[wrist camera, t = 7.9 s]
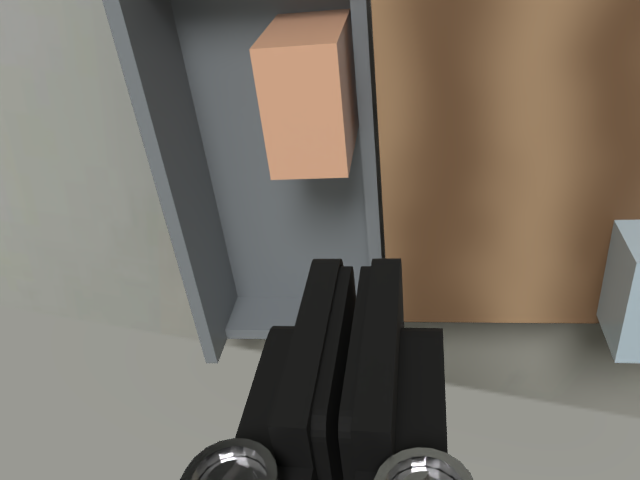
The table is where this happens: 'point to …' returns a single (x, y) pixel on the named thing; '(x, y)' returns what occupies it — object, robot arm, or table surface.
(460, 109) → the board
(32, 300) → the table surface
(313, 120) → the block terracotta
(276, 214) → the box
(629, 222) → the pale blue block
